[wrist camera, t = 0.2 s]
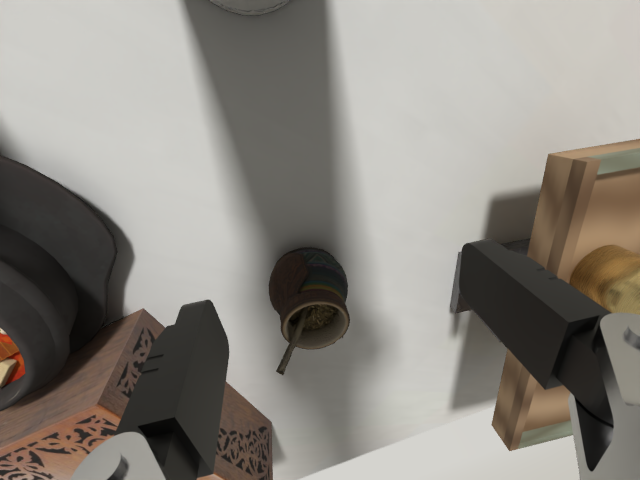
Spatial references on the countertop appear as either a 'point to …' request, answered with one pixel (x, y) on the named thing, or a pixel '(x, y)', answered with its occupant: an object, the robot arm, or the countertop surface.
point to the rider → (610, 278)
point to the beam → (569, 267)
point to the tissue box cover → (115, 412)
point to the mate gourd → (309, 299)
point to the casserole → (46, 278)
